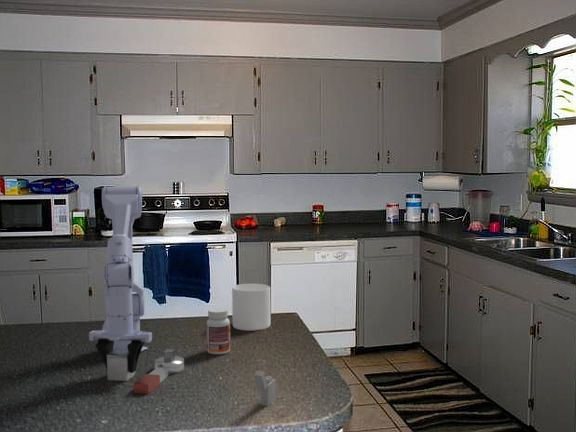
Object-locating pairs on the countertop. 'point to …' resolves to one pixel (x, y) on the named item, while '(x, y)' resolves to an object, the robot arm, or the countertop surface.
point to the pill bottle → (218, 331)
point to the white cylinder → (251, 306)
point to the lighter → (265, 387)
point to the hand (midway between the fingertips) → (121, 370)
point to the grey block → (119, 365)
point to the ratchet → (160, 372)
